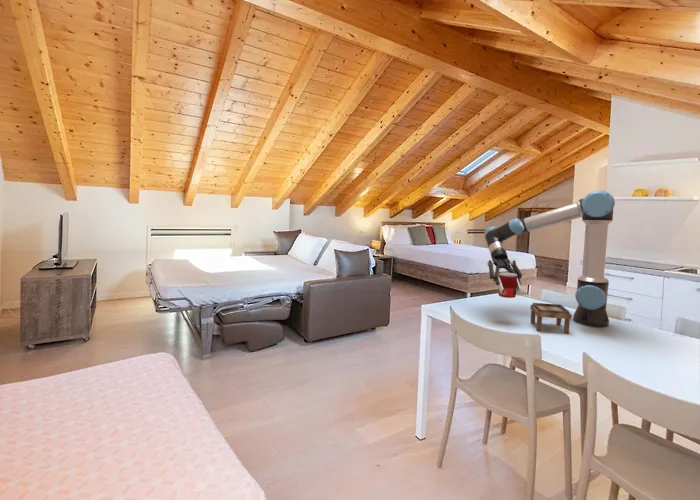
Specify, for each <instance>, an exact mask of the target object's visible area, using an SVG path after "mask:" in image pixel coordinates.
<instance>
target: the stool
mask: <svg viewBox="0 0 700 500" xmlns="http://www.w3.org/2000/svg"><path fill="white" fill-rule="evenodd" d="M530 310H531V311H530V324H536V332H542V323H543V318H550V319H551V318H552V319H556V321H555V322H556V323H555V325H556V326H558V327H559V326H561V325H562V319H564V324H563V325H564V327H563V333H564V334H567V335H569V334H570V333H569V332H570V325H571V323H570V321H571V320H572V319H573V316H572V315H573V314H571V312H570V311H569V310H568V309H567V308H566V307H565V306H563V305H562V304H559V303H558V304H557V303H556V304H555V303H545V302H543V303H542V302H532V304H530Z"/></svg>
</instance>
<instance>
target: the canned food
mask: <svg viewBox="0 0 700 500" xmlns="http://www.w3.org/2000/svg"><path fill="white" fill-rule="evenodd" d="M498 278H500V279H501V283H502V286H503V290H502V292H500V290H499V289H498V296H499V297H501V298H506V299H507V298H508V299H512V298H513V299H514V298H516V297H517V289H516V288H517V274H514V273H509V272H499V275H498Z"/></svg>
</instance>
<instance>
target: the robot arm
mask: <svg viewBox="0 0 700 500" xmlns="http://www.w3.org/2000/svg"><path fill="white" fill-rule="evenodd" d="M615 203H616V202H615V198H614V196H613V195H612V194H611V193H610V192H608V191H606V190H603V189H602V190H601V189H600V190H599V189H598V190H593V191H590V192H589V193H587V194H586V195H585V196H584V198H580V199H578V200H577V201H576V202H574V203H571V204H567V205H565V206H561V207H559V208H554V209H552V210H548V211H545V212H541V213H537V214H534V215H531V216H528V217H525V218H521V219H519V218H517V217H516V218H514V219H511V220H509V221H508V222H506V223H504V224H502V225H500V226H499V227H497V226H489V227H487V228H485V229H484V232H483V234H484V239H485V241H486V243H487V247H488V250H489V254H490V257H491V260H488V262H487V266H488V270H489V273H488V274H489V279H490V280H493V281H494V282H495V285H496V286H497V287H498V291H499V290H500V292H502V290H503V286H502V283H501V279H500V278H499V274H500V269H504V270H505V271H507V273H514V274H517V288H516V292H517V293H519V292H520V291H521V290H522V287H521V284H522V281H521V280H520V279H522V277H523V274H522V272H521V270H520V269H519V267H518V265H517V261H516V260H510V259H509V258H508V253H507V250H506V248H505V245H504V241H506V240H508V239H510V238H513V237H515V236H519V235H523V234H526V233H529V232H532V231H537V230H540V229H545V228H546V227H547V228H548V227H552V226H554V225H558V224H562V223H567V222H569V221H572V220H576V219H580V218H582V219H581V220H582V222H583V224H584V225H585V231H584V244H583V253H582V256H583V258H582V267H581V268H582V269H581V275H580V276H579V277H577V282H576V283H577V285H576V291H575V295H574V296H575V300H576V302H577V304H578V305H577V307H576V309H575V311H574V313H573V314H572V315H573V316H572V320H573V321H574V322H575V323H577V324H580V325H583V326H588V327H594V328H595V327H596V328H603V327H604V328H605V327H608V326H609V325H610V319H609V316H608V313H607V302H608V293H609V285H610V284H609V283H610V282H609V281H610V280H609V279H608V278H605V266H606V255H607V254H606V253H607V242H608V229H609V228H608V227H609V224H611V222H613V218H614V207H615ZM494 266H495V272H494Z"/></svg>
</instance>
